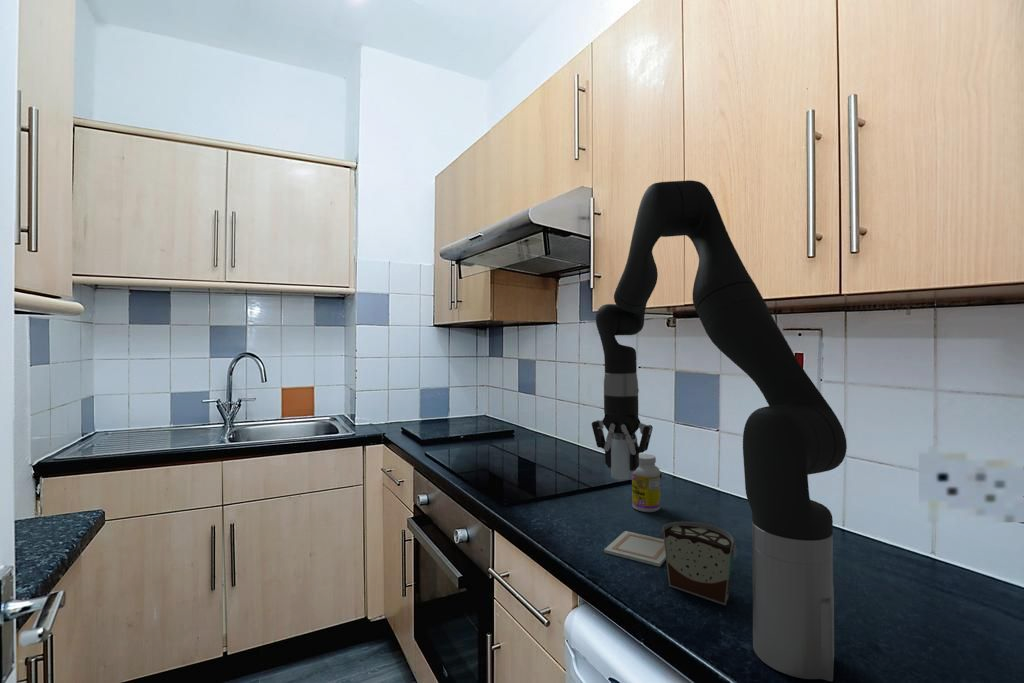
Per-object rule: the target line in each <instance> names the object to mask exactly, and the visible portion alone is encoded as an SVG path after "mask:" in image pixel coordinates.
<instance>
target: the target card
mask: <svg viewBox="0 0 1024 683" xmlns="http://www.w3.org/2000/svg"><path fill="white" fill-rule="evenodd" d="M603 553H604V554H609V555H611V556H616V557H620V558H624V559H628V560H631V561H635V562H639V563H644V564H647V565H651V566H656V567H658V568H659V567H661V566H662V565H663V563H664V562H665V561H666V553H665V544H664V538H661V537H660V538H659V537H654V536H650V535H646V534H641V533H636V532H634V531H633V532H632V531H627V530H624V531H623V532H621V534H620V535H619V536H617V537H616V539H614V540H613V541H612V542H611V543H610V544H608V545H607V547H605V548H604V549H603Z"/></svg>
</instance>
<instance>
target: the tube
mask: <svg viewBox="0 0 1024 683" xmlns="http://www.w3.org/2000/svg"><path fill="white" fill-rule="evenodd" d="M626 435H627V434H622V433H611V468H610V476H611V478H612V479H614V480H618V481H619V480H621V481H624V480H625V481H628V480H632V478H633V471H630V454H631V451H630V448H629V446H628V444H627V443H626ZM631 438H632V437H631Z"/></svg>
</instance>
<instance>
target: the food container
mask: <svg viewBox="0 0 1024 683" xmlns="http://www.w3.org/2000/svg"><path fill="white" fill-rule="evenodd" d="M659 537H660V538H663V539H664V544H665V553H666V560H665V561H666V571H667V580H668V581H667V582H668V587H671V588H674V589H676V590H679V591H682V592H685V593H688V594H691V595H693V596H697V597H699V598H703V599H705V600H709V601H712V602H713V603H716V604H719V605H723V606H727V604H728V602H729V593H730V583H731V574H732V565H733V564H732V563H733V558H734V559H735V558H737V556H738V551H737V546H736V541H735V540H734V537H733V535H731V533H729V532H728V531H727V530H724V529H722V528H720V527H718V526H715V525H711V524H708V523H702V522H697V521H674V522H669V523H666V524H664V525H662V529H661V531H660V536H659Z"/></svg>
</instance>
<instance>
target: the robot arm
mask: <svg viewBox="0 0 1024 683" xmlns="http://www.w3.org/2000/svg"><path fill="white" fill-rule="evenodd" d="M680 236H683V237H684V236H686V237H688V238H689V239H690V241H691V242H692V243H693V246H694V249H695V250H696V254H697V257H698V266H697V270H696V275H695V279H694V283H693V288H692V304H693V308H694V310H695V312H696V314H697V316H698V319H699V320H700V322H701V325H702V327H703V328H704V331H705V333H706V335H707V336H708V338H709V339H710V341H711V342H712V343H713V344H714V346H715V347H716V348H717V349H718V350H719V351H720V352H721V353H722V354H724V355H725V357H727V358H728V359H729V360H730V361H731V362H732V363H733V364H735V365H736V366H737V367H738V368H739V369H741V370H742V372H744V373H745V374H746V375H747V376H748V377H749V378H750V379H751V380H752V381H753V383H755V385H756V386H757V387H758V389H759V390H760V392H761V394H762V395H763V397H764V399H765V401H766V403H767V404H768V406H764V407H758V408H757V409H756V410H754V411H753V412H752V413H751V414H750V415H749V416H748V417H747V420H746V422H745V424H744V428H743V433H742V434H743V435H742V457H743V472H744V486H745V495H746V498H747V502H748V504H749V507H750V509H751V523H752V524H751V525H752V526H751V530H752V531H751V532H752V534H751V535H752V536H751V537H752V538H751V540H752V543H751V544H752V546H751V547H752V549H751V551H752V552H751V554H752V563H751V564H752V646H753V647H752V648H753V651H754V653H755V655H756V656H757V657H758V658H759V659H760V660H761V662H763V663H764V664H766V665H767V666H768V667H770V668H771V669H773V670H775V671H777V672H780V673H782V674H784V675H787V676H790V677H794V678H798V679H803V680H824V681H828V682H833V681H834V669H835V668H834V666H835V664H834V663H835V594H834V593H835V591H834V590H835V586H834V568H833V567H834V557H833V556H834V554H833V552H834V550H833V549H834V546H833V545H834V544H833V540H834V539H833V538H834V537H833V535H834V534H833V531H834V521H833V515H832V512H831V510H830V509H829V508H828V507H827V506H825V505H824V504H822V503H820V502H818V501H815V500H812V499H811V498H810V496H811V495H810V488H809V487H810V486H809V477H808V476H809V475H815V474H820V473H825V472H829V471H832V470H834V469H836V468H837V467H839V466H840V465H842V463H843V462H844V460H845V458H846V454H847V449H848V446H847V438H846V434H845V431H844V428H843V426H842V424H841V421H840V420H839V418H838V416H837V414H836V413H835V411H834V410H833V409H832V407H831V405H830V404H829V403H828V402H827V400H826V399H825V397H824V396H823V395H822V393H821V392H820V391H819V389H818V388H817V386H816V385H815V384H814V383H813V380H812V379H811V378H810V377H809V375H808V374H807V372H806V371H805V369H804V368H803V366H802V365H801V364H800V362H799V360H798V359H797V357H796V356H795V353H794V352H793V350H792V348H791V346H790V344H789V343H788V341H787V339H786V337H785V336H784V334H783V333H782V331H781V330H780V329H781V328H780V327H779V326H778V325H777V322H776V320H775V319H774V317H773V315H772V313H771V311H770V309H769V306H767V304H766V301H765V300H764V298H763V296H762V294H761V292H760V290H759V288H758V286H757V285H756V283H755V282H754V280H753V279H752V277H751V275H750V274H749V272H748V271H747V268H746V267H745V265H744V262H743V261H742V259H741V257H740V256H739V253H738V251H737V249H736V248H735V246H734V244H733V241H732V239H731V237H730V235H729V233H728V231H727V228H726V226H725V222H724V221H723V218H722V216H721V213H720V211H719V208H718V206H717V203H716V201H715V199H714V196H713V194H712V193H711V191H710V189H709V188H708V186H706V184H704V182H701V181H697V180H692V179H691V180H690V179H689V180H688V179H687V180H674V181H670V180H669V181H659V182H654V183H653V184H651V185H649V186H648V187H647V188H646V190H645V191H644V193H643V195H642V197H641V201H640V202H639V206H638V209H637V214H636V218H635V223H634V227H633V231H632V236H631V242H630V246H629V252H628V256H627V260H626V264H625V267H624V269H623V272H622V274H621V276H620V279H619V281H618V284H617V286H616V288H615V290H614V294H613V300H614V303H611V304H609V303H607V304H602V305H601V306H600V307H598V309H597V312H596V313H595V314H596V315H595V324H596V329H597V332H598V335H599V337H600V343H601V346H602V351H603V355H604V378H603V405H604V406H603V410H604V411H603V413H604V416H603V419H602V420H600V419H599V420H595V421H593V422H592V423H591V427H592V432H593V436H594V440H595V444H596V447H597V448H599V449H600V448H601V449H603V450H604V462H605V465H606V466H607V468H608V469H611V433H622V434H627V435H626V443H627V444H628V446H629V448H630V451H631V454H630V471H635V470H636V469H637V468H638V467H639V454H641V453H642V454H644V452H646V451H647V450H648V448H649V444H650V441H651V437H652V432H653V426H652V425H651V424H648V425H647V424H644V423H641V420H640V418H639V392H640V390H639V382H638V375H637V372H638V371H637V351H636V349H635V348H634V347H632V346H629V345H622V344H620V343H619V342H618V340H617V339H616V336H635V335H637V334H639V333H640V332H641V331H642V330H643V328H644V325H645V314H646V308H647V303H648V301H649V300H650V297H651V296H652V294H653V292H654V290H655V288H656V285H657V282H658V278H659V277H658V274H659V273H658V266H657V263H656V261H655V259H654V254H653V249H654V247H655V245H656V244H657V242H658V241H659V239H660V238H661V237H664V238H667V237H680ZM604 427H605V429H606V430H607V432H608V433H607V435H606V438H605V435H604ZM638 430H639V431H640V434H641V438H640V442H639V443H638V437H637V434H636V432H637V431H638ZM631 437H632V438H631Z"/></svg>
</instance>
